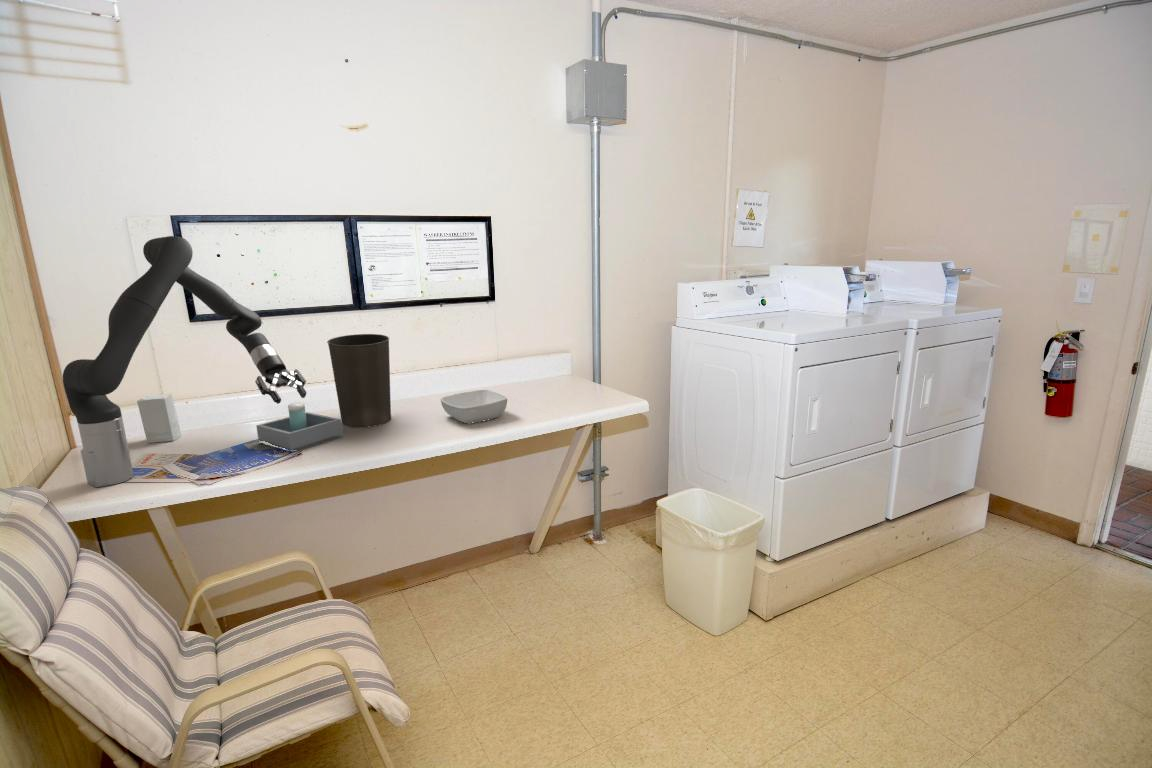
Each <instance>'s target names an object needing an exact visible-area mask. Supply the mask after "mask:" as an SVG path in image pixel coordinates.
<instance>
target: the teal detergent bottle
mask: <svg viewBox="0 0 1152 768" xmlns="http://www.w3.org/2000/svg"><path fill="white" fill-rule="evenodd" d="M287 408H288V417H289V418H290V426H291V432H293V431H297V430H300V429H304V428H307V421H306V413H307V412H306V406H305V403H304V402H292V403H289V404H288V405H287Z"/></svg>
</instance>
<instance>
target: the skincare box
mask: <svg viewBox="0 0 1152 768" xmlns="http://www.w3.org/2000/svg"><path fill="white" fill-rule="evenodd" d="M136 402H137V403H136V404H137V407H138V410H139V414H140V415H139V416H140V419H141V423H142V427H143V431H144V436H145V439H146V444H151V443H163V442H164V443H165V442H174V441H176V440H178V439H179V438H181V437H182V431H181V428H180V423H179V419H178V413H177V411H176V406H175V402H174V398H173V394H172V393H171V394H169V393H168V394H161V395H159V394H158V395H148V396H144V397H142V398H140V399H138V400H136Z"/></svg>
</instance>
